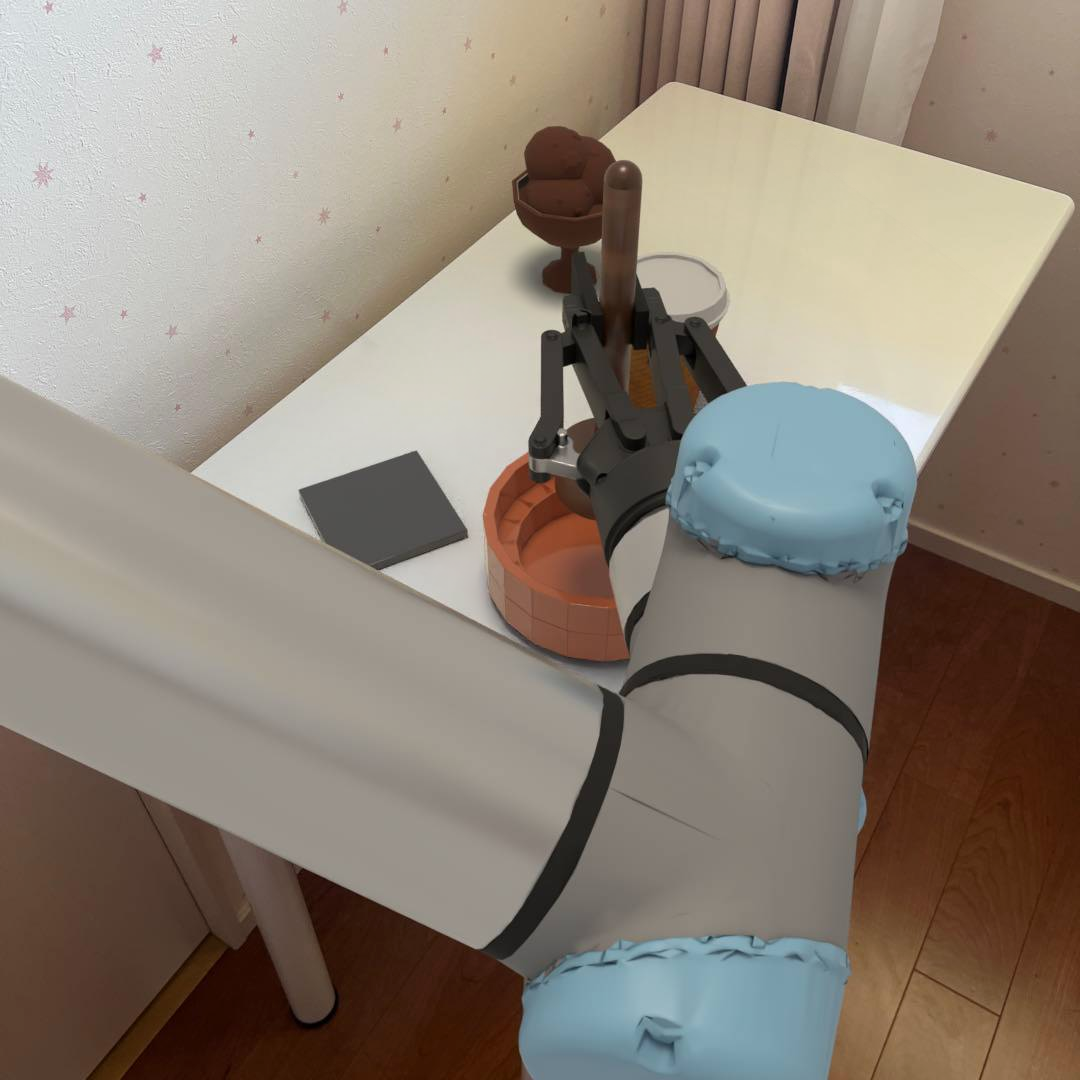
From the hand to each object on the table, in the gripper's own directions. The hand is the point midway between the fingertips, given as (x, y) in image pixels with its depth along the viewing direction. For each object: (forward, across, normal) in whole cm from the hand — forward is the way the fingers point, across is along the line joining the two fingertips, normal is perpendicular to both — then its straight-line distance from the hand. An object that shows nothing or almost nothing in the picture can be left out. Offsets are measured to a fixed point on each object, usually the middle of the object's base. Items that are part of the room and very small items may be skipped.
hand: (599, 270), depth 68 cm
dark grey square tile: (+3, -16, -23) cm, 28 cm away
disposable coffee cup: (+14, +8, -23) cm, 28 cm away
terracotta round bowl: (-5, 0, -23) cm, 23 cm away
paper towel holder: (-6, 0, -13) cm, 14 cm away
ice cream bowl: (+33, +4, -23) cm, 41 cm away
